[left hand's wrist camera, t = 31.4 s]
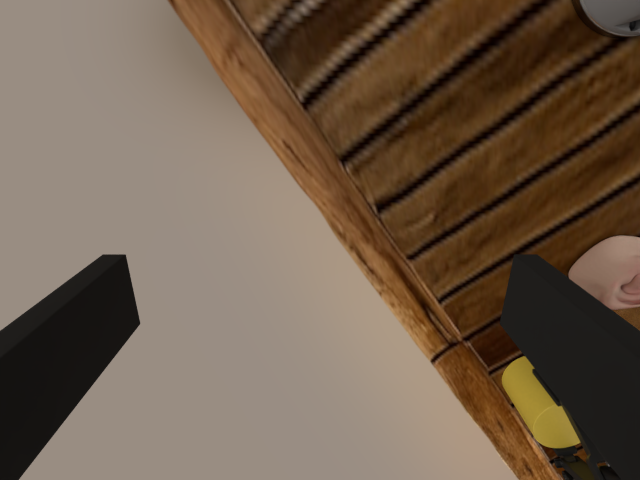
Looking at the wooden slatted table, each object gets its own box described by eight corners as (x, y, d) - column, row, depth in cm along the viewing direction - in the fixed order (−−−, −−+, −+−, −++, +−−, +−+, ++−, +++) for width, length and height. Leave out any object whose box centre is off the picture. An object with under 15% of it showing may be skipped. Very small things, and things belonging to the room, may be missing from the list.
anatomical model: (572, 301, 51) (627, 229, 47) (555, 287, 55) (605, 219, 51) (649, 332, 53) (709, 264, 49) (628, 316, 57) (681, 252, 53)
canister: (510, 404, 63) (541, 456, 54) (494, 366, 60) (525, 414, 51) (562, 385, 62) (604, 435, 53) (549, 346, 59) (591, 392, 50)
